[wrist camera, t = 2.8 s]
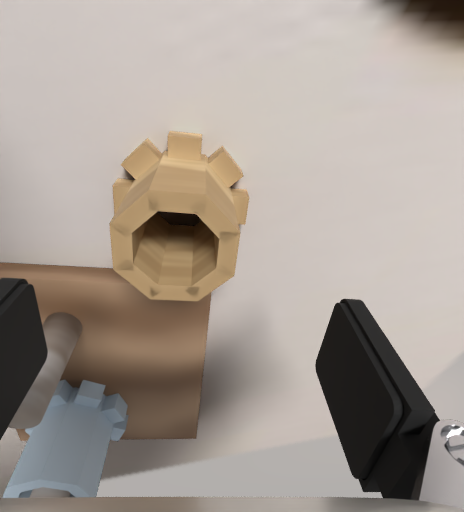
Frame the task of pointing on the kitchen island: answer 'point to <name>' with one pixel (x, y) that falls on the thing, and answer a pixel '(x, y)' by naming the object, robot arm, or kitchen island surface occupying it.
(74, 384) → the board
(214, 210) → the oak gear
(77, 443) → the gear
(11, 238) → the kitchen island surface
